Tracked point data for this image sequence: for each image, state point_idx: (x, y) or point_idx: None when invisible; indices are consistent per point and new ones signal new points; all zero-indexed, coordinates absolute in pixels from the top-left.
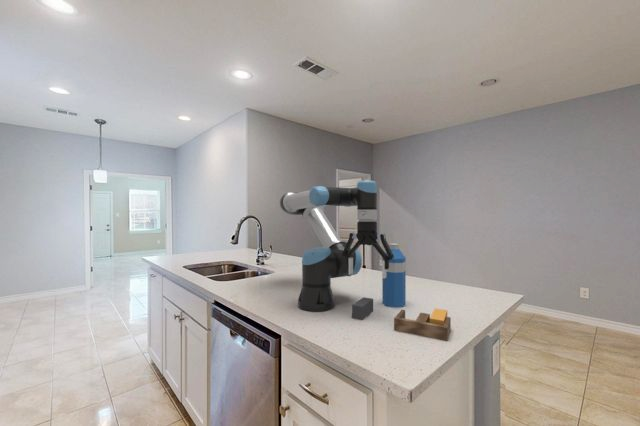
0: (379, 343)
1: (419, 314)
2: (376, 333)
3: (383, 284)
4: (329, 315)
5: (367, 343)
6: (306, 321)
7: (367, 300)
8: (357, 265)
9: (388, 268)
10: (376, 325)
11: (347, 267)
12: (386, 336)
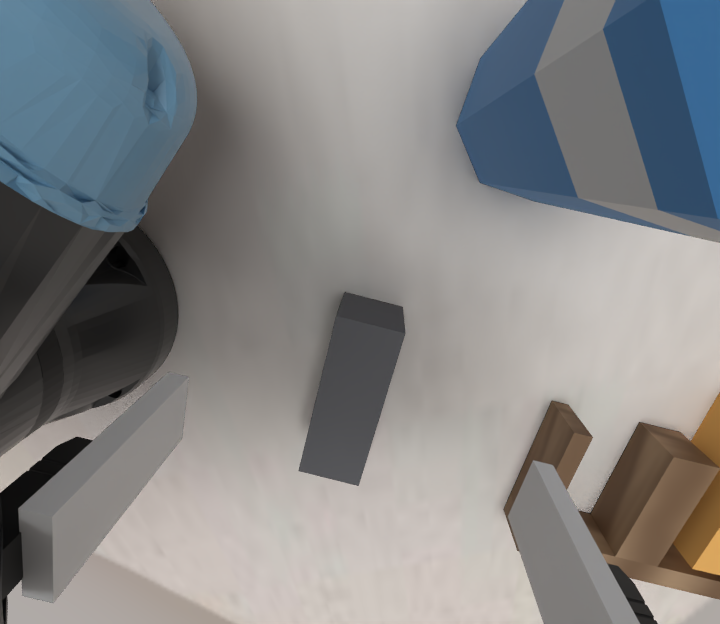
0: (445, 606)
1: (658, 484)
2: (433, 545)
3: (496, 130)
4: (200, 417)
5: (406, 612)
6: (139, 498)
7: (371, 377)
8: (145, 183)
9: (620, 575)
10: (429, 479)
11: (58, 311)
12: (470, 560)
